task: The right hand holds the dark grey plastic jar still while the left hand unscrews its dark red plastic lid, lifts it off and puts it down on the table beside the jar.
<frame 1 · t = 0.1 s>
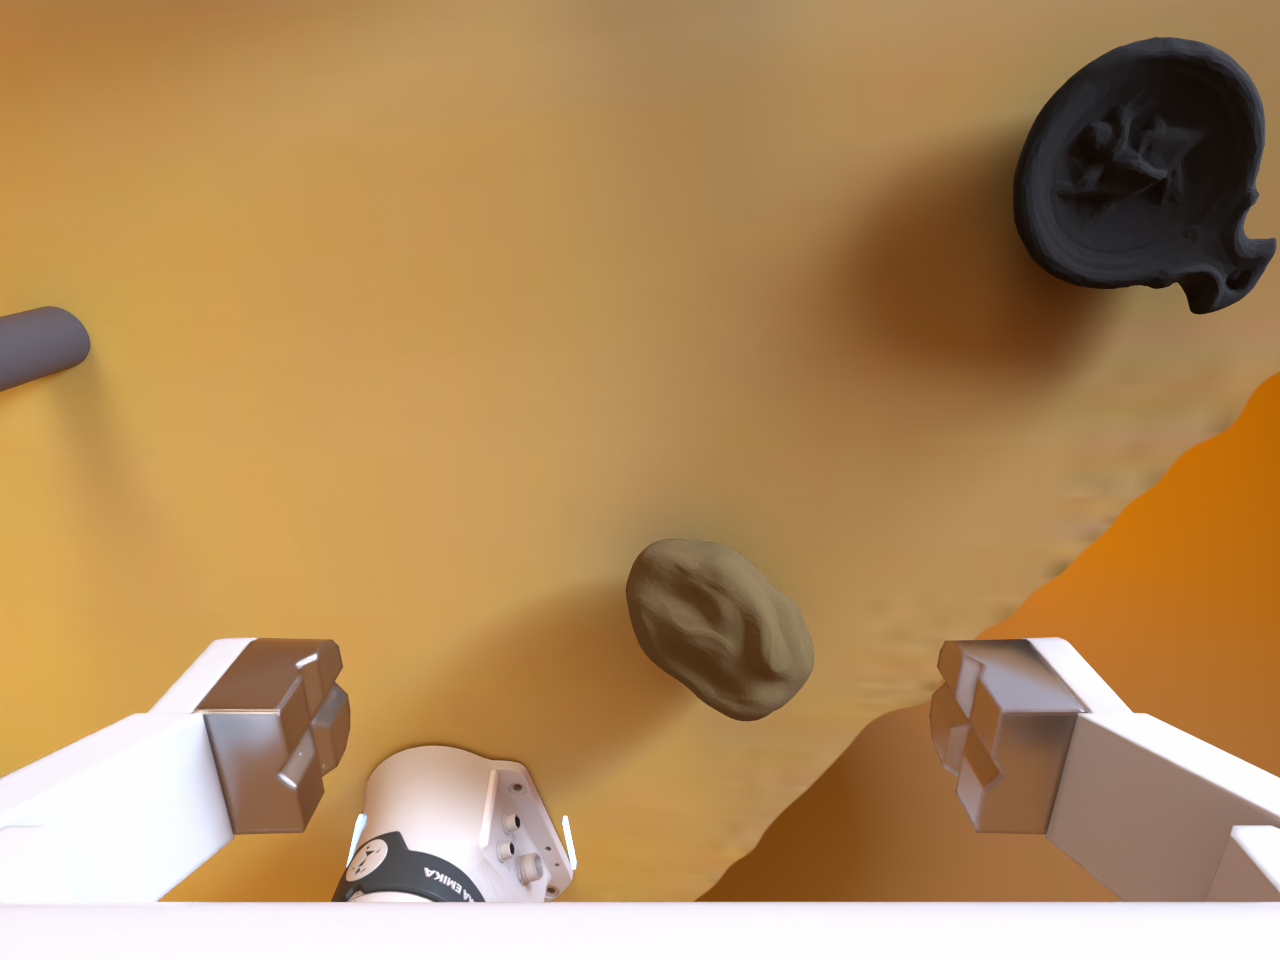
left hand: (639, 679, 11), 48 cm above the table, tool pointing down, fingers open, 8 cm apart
jar: (58, 337, 57), on the table
decorative stone: (711, 590, 65), on the table
oil lamp: (1118, 196, 53), on the table
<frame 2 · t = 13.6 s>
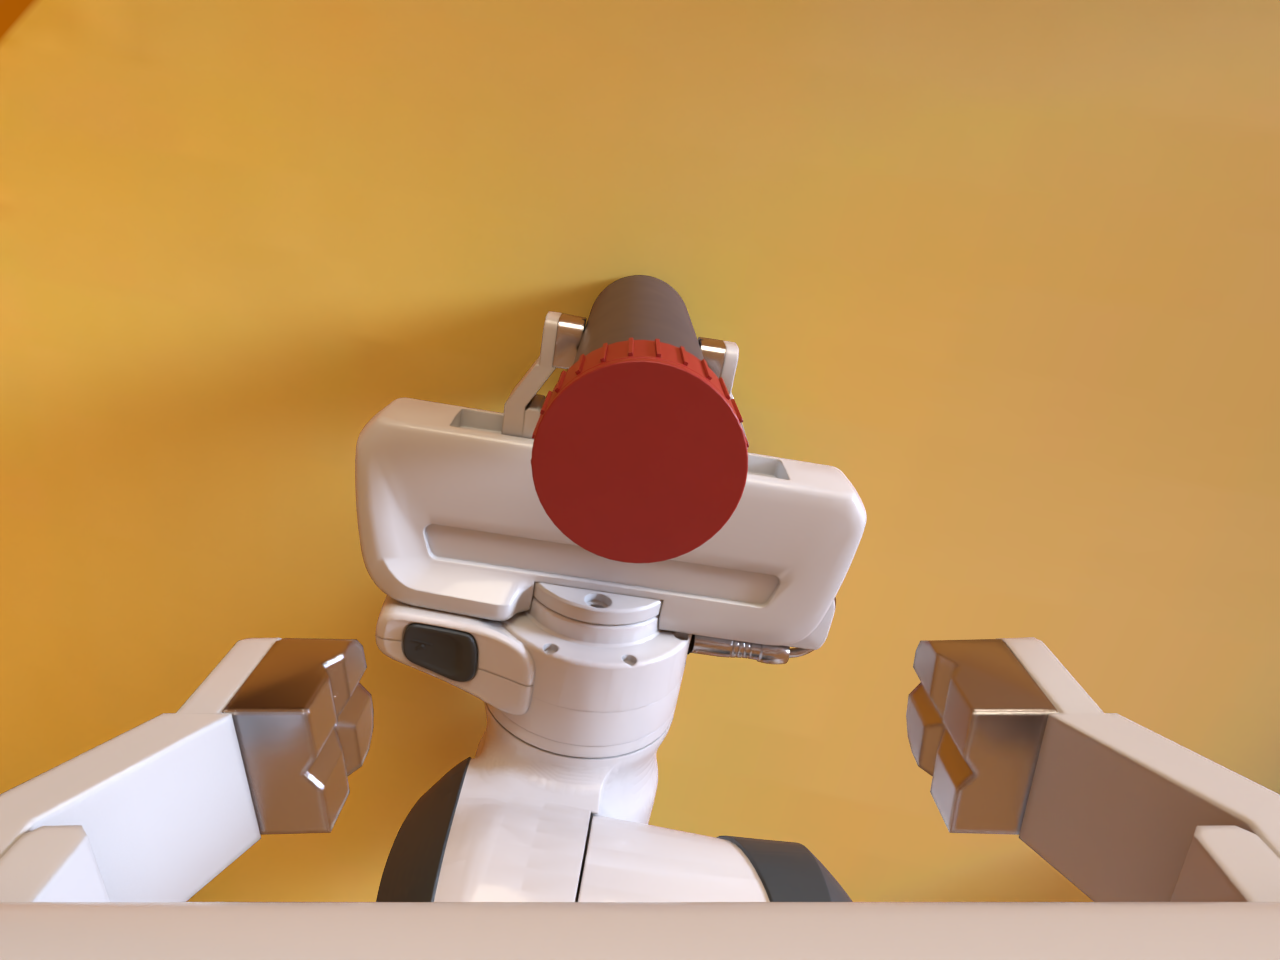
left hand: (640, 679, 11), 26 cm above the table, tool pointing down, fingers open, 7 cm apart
right hand: (642, 328, 29), fingers closed on jar, 4 cm apart
jar: (639, 326, 34), on the table, touching right hand
lid: (639, 462, 18), point 17 cm above the table, screwed on, not yet turned
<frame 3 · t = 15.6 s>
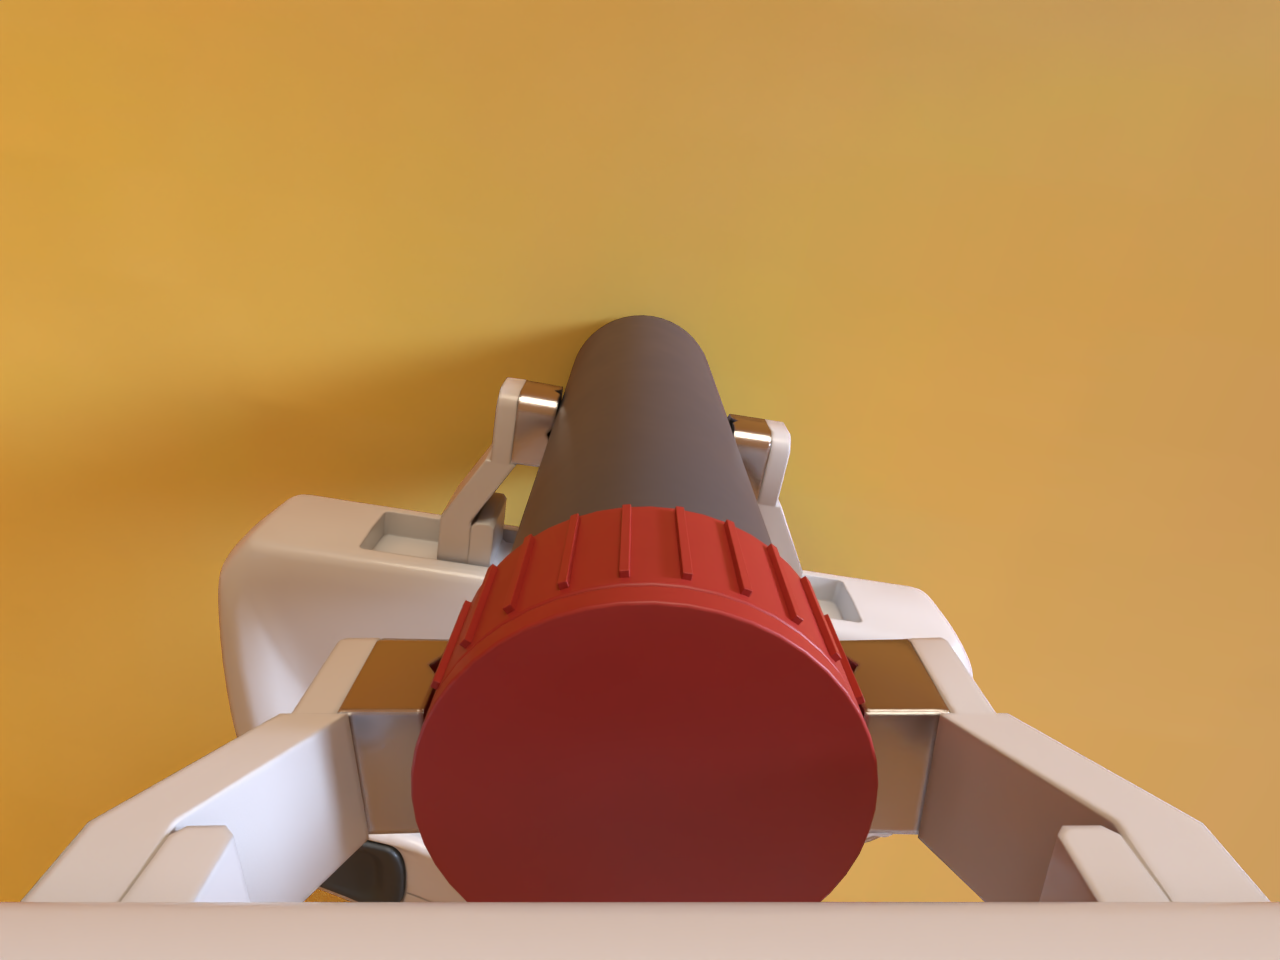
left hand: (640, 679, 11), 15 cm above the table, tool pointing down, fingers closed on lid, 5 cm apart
jar: (640, 385, 25), on the table, touching right hand
lid: (644, 781, 9), point 17 cm above the table, screwed on, not yet turned, touching left hand
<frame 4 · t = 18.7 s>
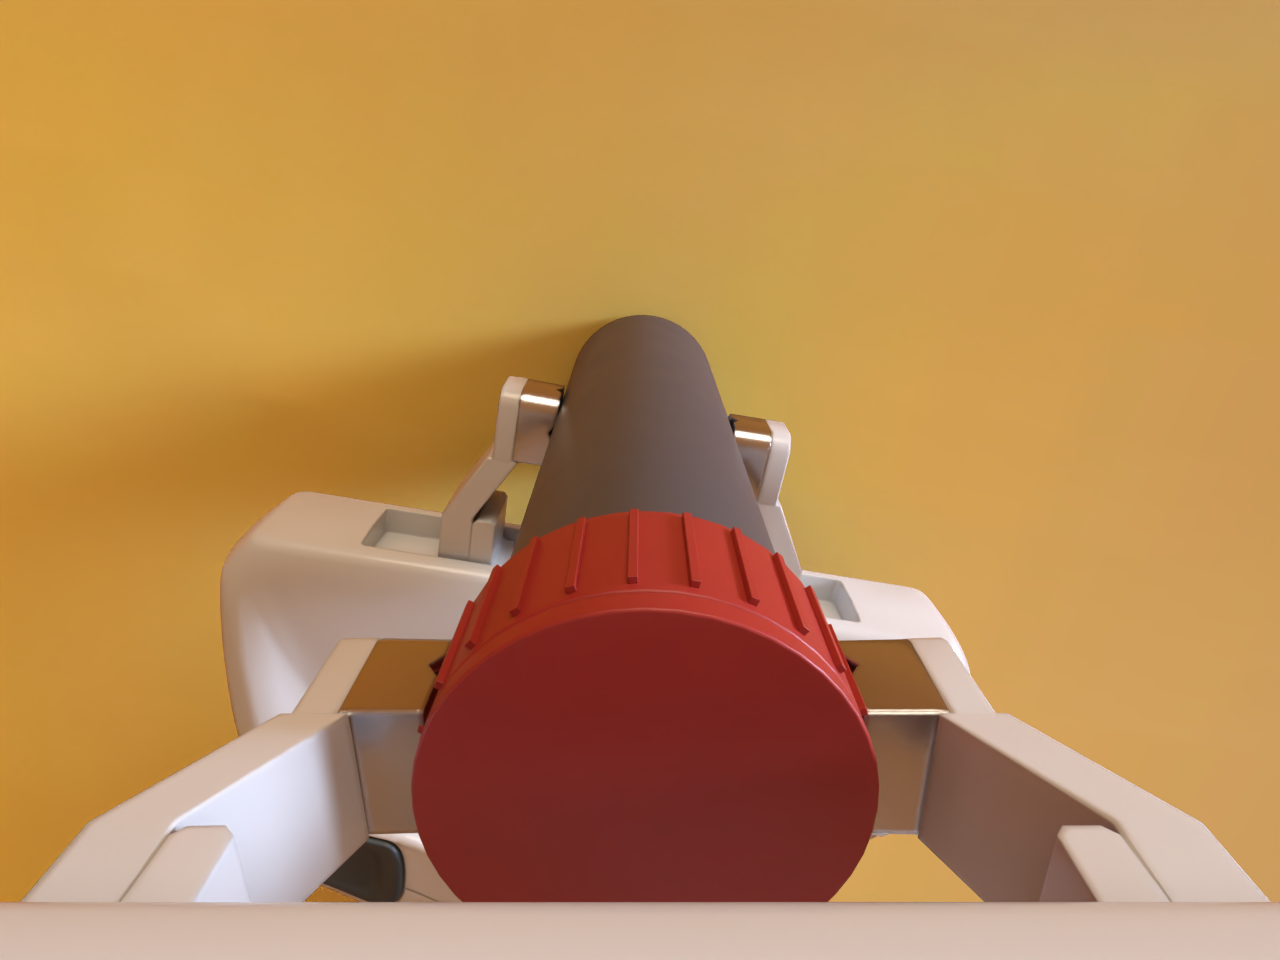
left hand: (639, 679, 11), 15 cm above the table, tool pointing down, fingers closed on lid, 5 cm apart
jar: (641, 384, 25), on the table, touching right hand
lid: (644, 787, 9), point 17 cm above the table, turned 85° so far, risen 0.1 cm, still on its thread, touching left hand
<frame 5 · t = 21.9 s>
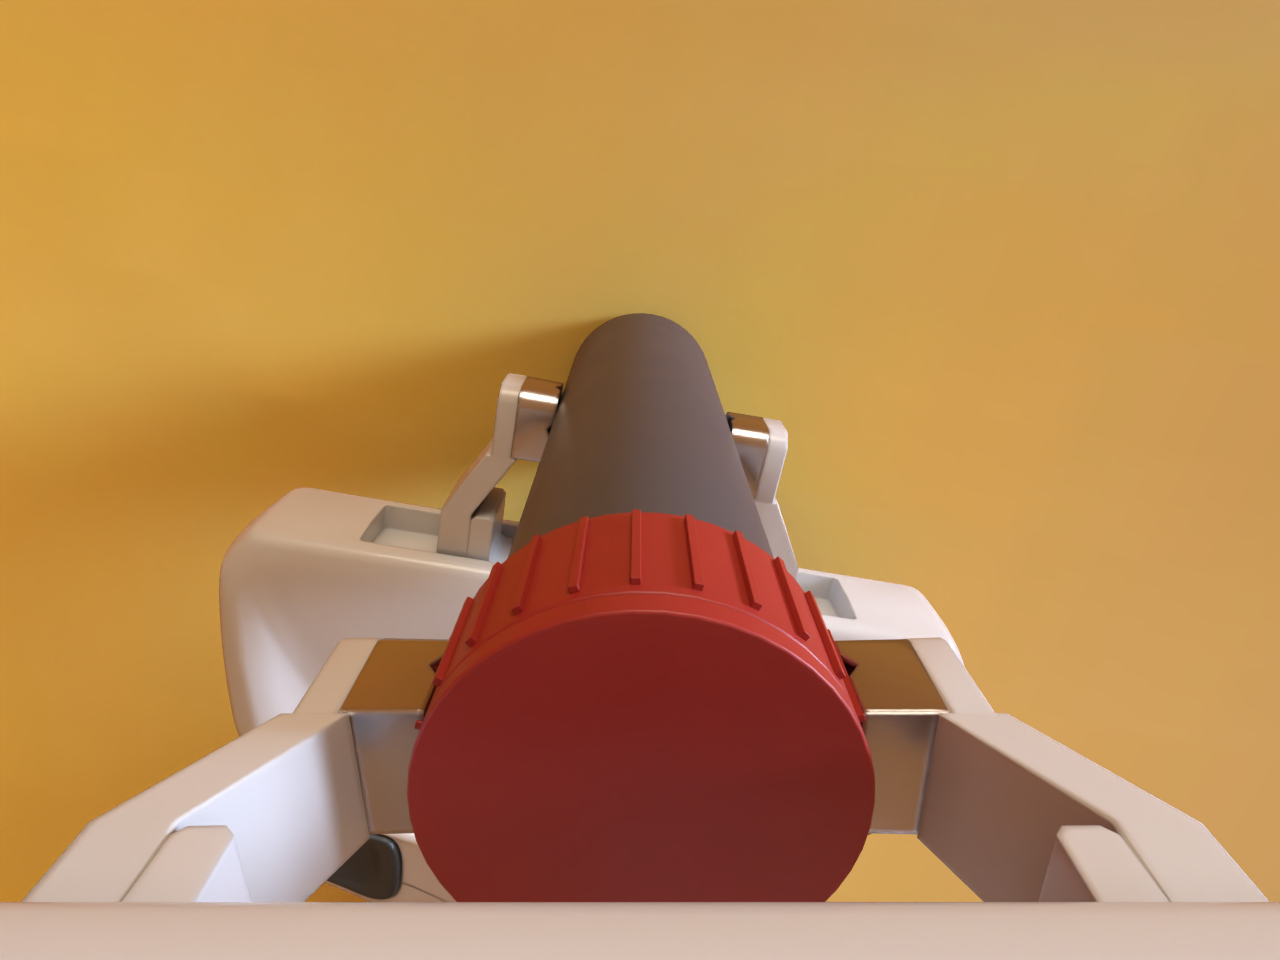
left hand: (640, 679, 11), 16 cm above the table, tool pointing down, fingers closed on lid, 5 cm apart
jar: (640, 382, 25), on the table, touching right hand
lid: (641, 788, 9), point 18 cm above the table, turned 170° so far, risen 0.3 cm, still on its thread, touching left hand
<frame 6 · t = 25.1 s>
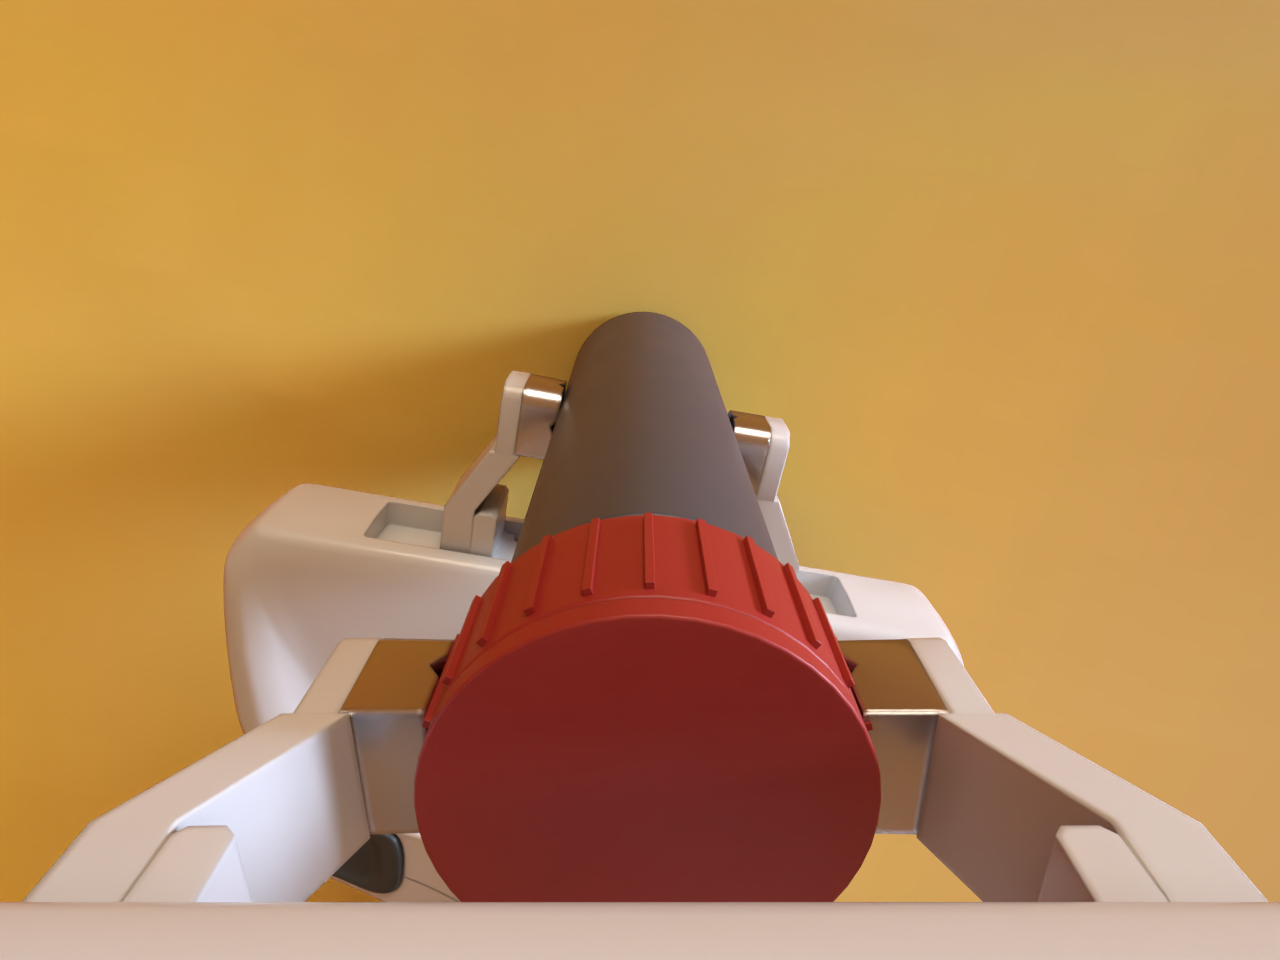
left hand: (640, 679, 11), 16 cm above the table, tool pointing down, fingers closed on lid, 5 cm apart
jar: (642, 380, 25), on the table, touching right hand
lid: (647, 791, 9), point 18 cm above the table, turned 255° so far, risen 0.4 cm, still on its thread, touching left hand
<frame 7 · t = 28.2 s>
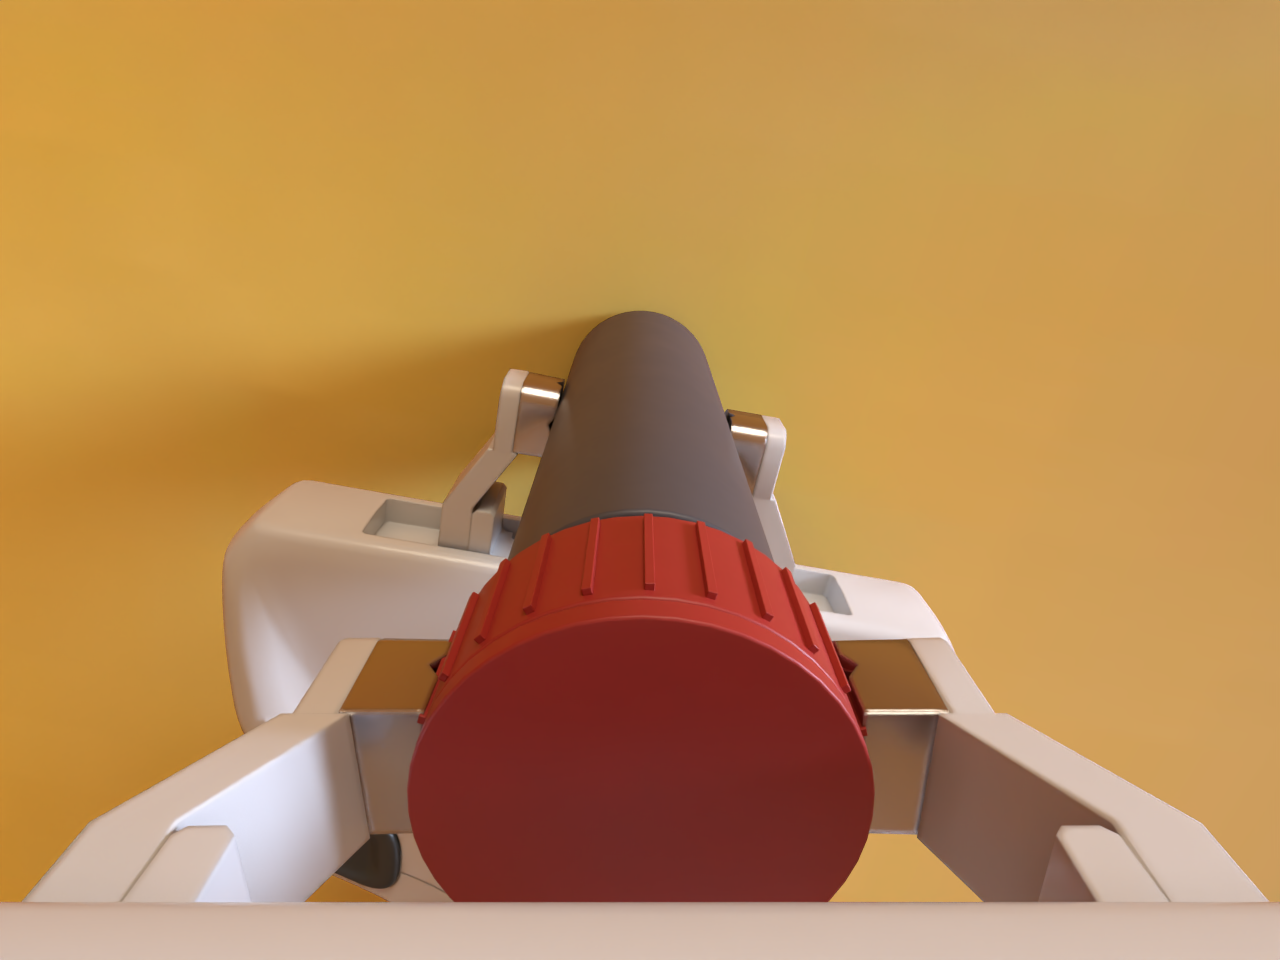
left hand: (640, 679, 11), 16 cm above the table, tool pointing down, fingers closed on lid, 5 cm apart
jar: (640, 379, 25), on the table, touching right hand
lid: (640, 792, 9), point 18 cm above the table, turned 340° so far, risen 0.6 cm, still on its thread, touching left hand
when the left hand's fingers open (2 cm above the table, at t = 33.7 s): lid drops 2 cm, point 2 cm above the table.
when the right hand's fingers open (5 cm above the table, at t = 34.8 s): jar stays where it is, on the table.
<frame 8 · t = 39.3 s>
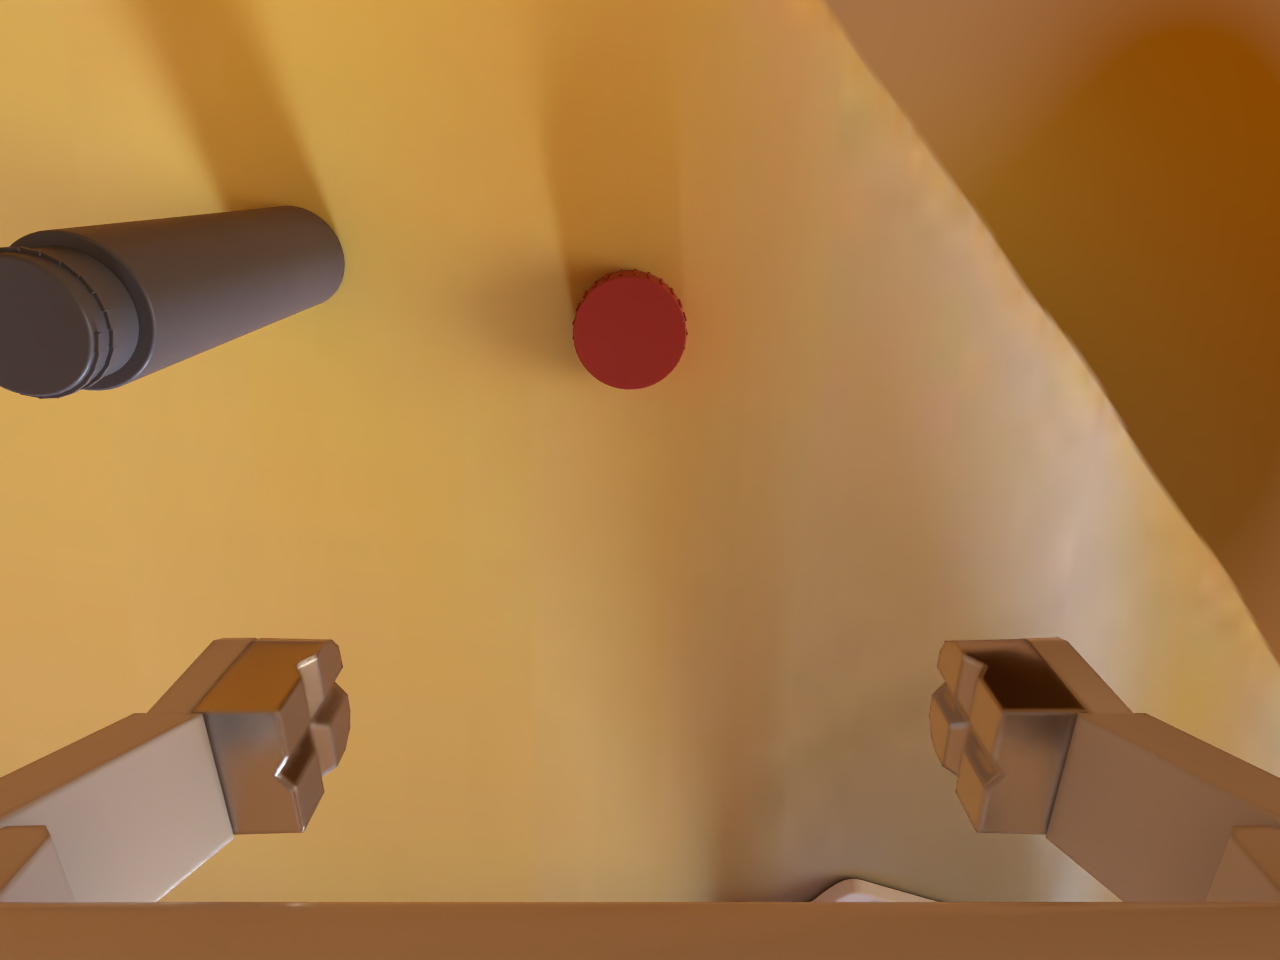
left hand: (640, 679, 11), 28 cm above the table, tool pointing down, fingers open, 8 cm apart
jar: (296, 257, 36), on the table
lid: (629, 333, 35), point 2 cm above the table, off its thread
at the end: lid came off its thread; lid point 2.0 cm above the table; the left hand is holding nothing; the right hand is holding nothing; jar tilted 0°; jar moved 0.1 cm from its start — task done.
